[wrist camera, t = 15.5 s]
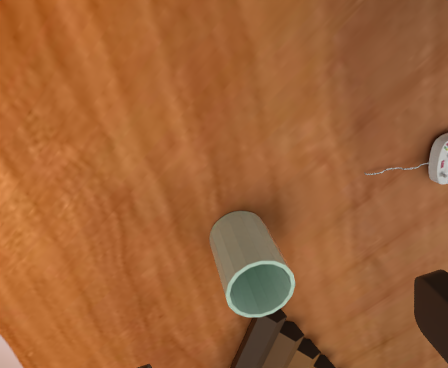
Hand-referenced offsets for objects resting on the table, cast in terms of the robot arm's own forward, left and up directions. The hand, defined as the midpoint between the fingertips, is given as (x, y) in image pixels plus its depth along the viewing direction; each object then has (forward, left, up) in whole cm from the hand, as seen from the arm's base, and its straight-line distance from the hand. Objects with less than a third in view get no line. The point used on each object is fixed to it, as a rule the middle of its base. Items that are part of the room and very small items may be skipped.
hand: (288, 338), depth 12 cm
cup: (-2, +16, -28) cm, 32 cm away
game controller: (-23, +13, -28) cm, 39 cm away
